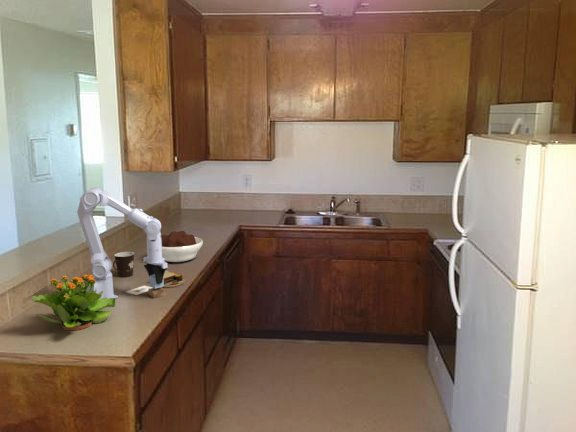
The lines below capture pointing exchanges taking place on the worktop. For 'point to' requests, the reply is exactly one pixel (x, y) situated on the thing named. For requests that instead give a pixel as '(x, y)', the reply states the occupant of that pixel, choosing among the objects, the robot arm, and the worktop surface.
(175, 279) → the toy sandwich meal
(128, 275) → the coffee mug
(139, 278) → the worktop surface
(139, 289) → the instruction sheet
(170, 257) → the bowl of brownies
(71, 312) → the potted flower
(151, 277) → the blue block
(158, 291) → the walnut block
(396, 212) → the worktop surface
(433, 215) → the worktop surface
